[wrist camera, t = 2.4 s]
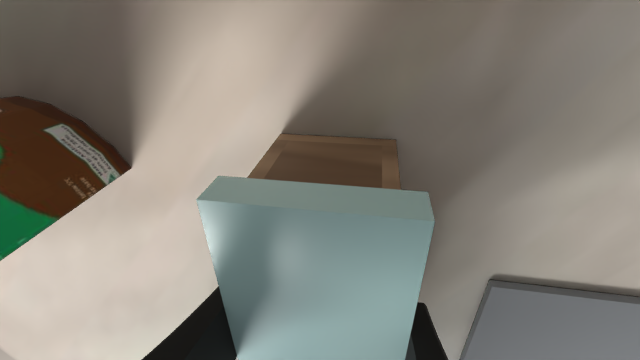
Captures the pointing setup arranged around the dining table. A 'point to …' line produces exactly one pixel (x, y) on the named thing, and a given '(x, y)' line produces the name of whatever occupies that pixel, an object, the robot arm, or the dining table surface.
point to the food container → (47, 168)
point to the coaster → (553, 325)
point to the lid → (317, 266)
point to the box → (331, 161)
